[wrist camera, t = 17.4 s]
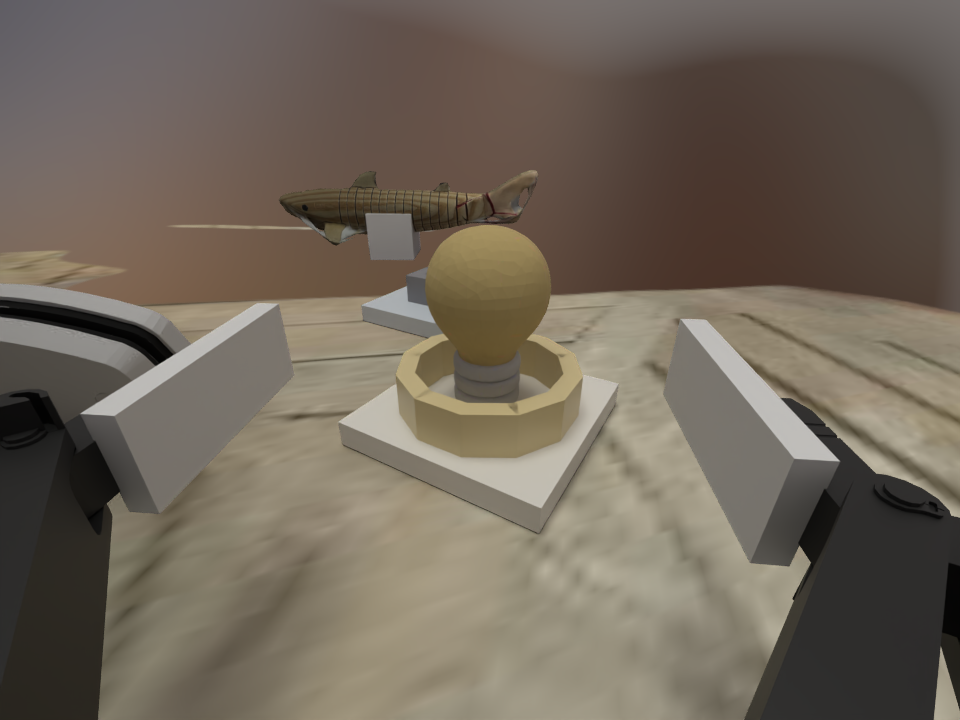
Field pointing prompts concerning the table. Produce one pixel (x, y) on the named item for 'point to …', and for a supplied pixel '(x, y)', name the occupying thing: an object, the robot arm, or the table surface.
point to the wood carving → (402, 212)
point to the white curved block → (78, 344)
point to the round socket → (487, 429)
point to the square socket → (404, 308)
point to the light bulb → (487, 307)
